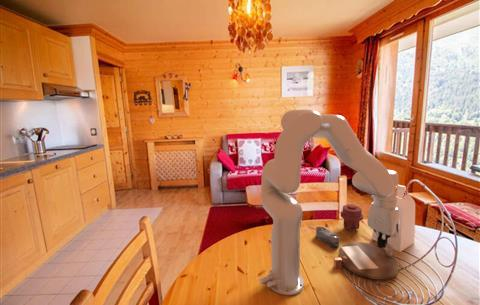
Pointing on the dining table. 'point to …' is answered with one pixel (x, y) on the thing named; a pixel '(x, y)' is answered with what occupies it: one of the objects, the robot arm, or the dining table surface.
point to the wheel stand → (337, 263)
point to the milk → (403, 221)
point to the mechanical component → (351, 217)
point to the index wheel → (369, 260)
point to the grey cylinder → (327, 237)
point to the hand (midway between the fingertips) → (381, 246)
